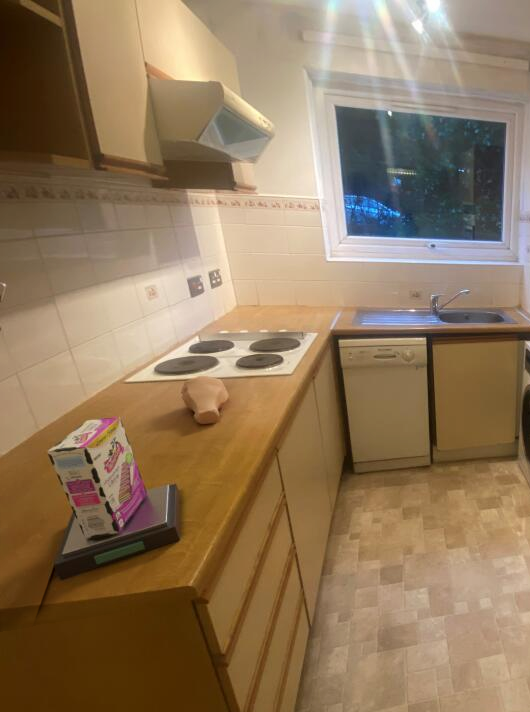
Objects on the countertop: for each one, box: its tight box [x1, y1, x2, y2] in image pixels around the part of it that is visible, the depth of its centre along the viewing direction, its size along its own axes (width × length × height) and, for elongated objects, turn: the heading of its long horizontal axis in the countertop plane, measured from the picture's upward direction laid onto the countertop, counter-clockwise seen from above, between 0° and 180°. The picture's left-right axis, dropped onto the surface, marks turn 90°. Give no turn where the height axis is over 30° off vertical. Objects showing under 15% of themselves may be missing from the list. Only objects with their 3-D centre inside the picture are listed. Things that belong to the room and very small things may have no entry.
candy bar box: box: [46, 416, 147, 539], centre depth 72 cm, size 11×5×16 cm, turn 18°
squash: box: [180, 375, 230, 425], centre depth 119 cm, size 11×20×9 cm, turn 37°
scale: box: [53, 483, 181, 580], centre depth 76 cm, size 15×16×3 cm
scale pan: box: [62, 484, 170, 558], centre depth 75 cm, size 13×13×1 cm
